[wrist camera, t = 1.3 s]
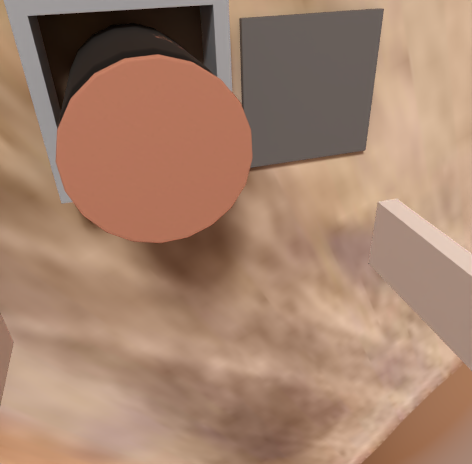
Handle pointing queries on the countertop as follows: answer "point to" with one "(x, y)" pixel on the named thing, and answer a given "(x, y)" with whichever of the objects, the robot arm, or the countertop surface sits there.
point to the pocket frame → (45, 3)
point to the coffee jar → (149, 137)
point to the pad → (308, 83)
